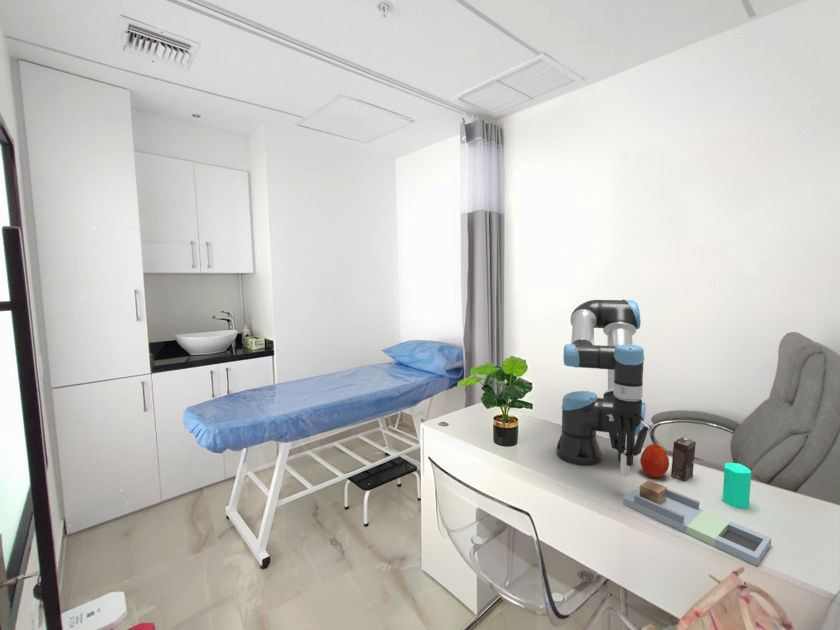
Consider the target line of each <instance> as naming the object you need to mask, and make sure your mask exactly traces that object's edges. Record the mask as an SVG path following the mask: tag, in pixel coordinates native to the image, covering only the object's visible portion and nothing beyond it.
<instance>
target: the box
mask: <svg viewBox="0 0 840 630" xmlns="http://www.w3.org/2000/svg"><path fill="white" fill-rule="evenodd" d="M696 443H697V442H696V441H695V440H692V439H690V438H689V439H688V438H685V437H680V438H678V439H676V440H675V441H673V448H672V457H671V458H672V460H671V461H672V462H671V472H670V476H671V477H672V478H674V479H677V480H679V481H682V482H686V481H687V480H689V479H691V478H692V477H693V474H694V466H695V465H694V464H695V453H696Z"/></svg>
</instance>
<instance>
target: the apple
mask: <svg viewBox="0 0 840 630" xmlns="http://www.w3.org/2000/svg"><path fill="white" fill-rule="evenodd" d="M639 460H640V462H639V463H640V465H641V468H642V471H643V472H644V473H645V475H646V476H649V477H650V478H661V477H663V476H664V475H665V474H666V473H667V472H668V470H669V467H670V459H669V455H668V454H667V451H666V450H665V449H664V448H663V447H662V446H661V445H660V444H657V443H650V444H648V445H647V446H646V447H645V449H644V450H643V451H642V452H641V455H640V459H639Z"/></svg>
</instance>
